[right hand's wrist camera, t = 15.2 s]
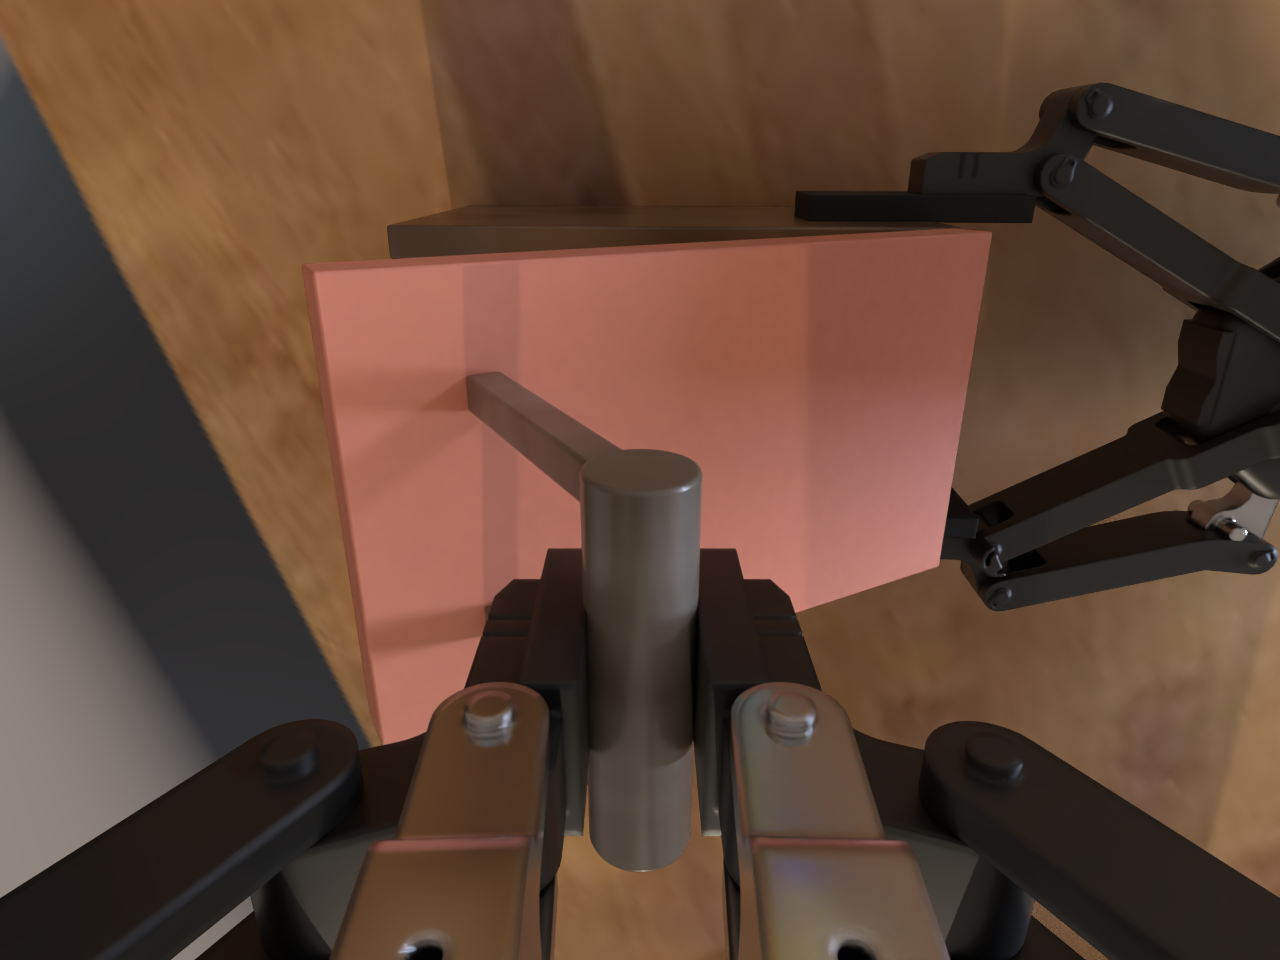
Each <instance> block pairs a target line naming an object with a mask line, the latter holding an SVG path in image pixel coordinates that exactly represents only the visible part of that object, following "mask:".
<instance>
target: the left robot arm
mask: <svg viewBox="0 0 1280 960" xmlns="http://www.w3.org/2000/svg"><path fill="white" fill-rule="evenodd" d="M1039 118H1040V121H1039V123H1038V125H1037V127H1036V129H1035V131H1034V133H1033V135H1032V136H1031V138H1030V140H1029V141H1028V142H1027V143H1026V144H1025V145H1024V146H1023V147H1021V148H1019V149H1018V150H1015V151H1013V152H934V153H927V154H924V155H922V156H919V157H917V158H914V159H912V160H911V168H910V177H909V185H908V192H866V191H796V200H795V214H794V215H795V216H798V217H800V218H802V219H805V220H807V221H899V222H944V223H1032V219H1033V213H1034V208H1035V205H1036V206H1038V207H1039V208H1041V209H1042V210H1044V211H1045V212H1047V213H1049V214H1050V215H1052V216H1053V217H1055V218H1056V219H1058V220H1060V221H1061V222H1063V223H1064V224H1066V225H1067V226H1069V227H1071V228H1072V229H1074V230H1075V231H1077V232H1078V233H1080V234H1081V235H1083V236H1085V237H1086V238H1088V239H1089V240H1091V241H1092V242H1094V243H1096V244H1097V245H1099V246H1100V247H1102V248H1103V249H1105V250H1107V251H1108V252H1110V253H1111V254H1113V255H1114V256H1116V257H1118V258H1119V259H1121V260H1122V261H1124V262H1125V263H1127V264H1129V265H1130V266H1132V267H1133V268H1135V269H1136V270H1138V271H1140V272H1141V273H1143V274H1144V275H1146V276H1147V277H1149V278H1151V279H1152V280H1154V281H1155V282H1157V283H1158V284H1160V285H1161V286H1162V287H1163V289H1164V290H1165V291H1166V292H1167V293H1169V294H1170V295H1172V296H1174V297H1175V298H1177V299H1178V300H1180V301H1181V302H1183V303H1185V304H1186V305H1188V306H1189V307H1191V308H1192V309H1194V310H1196V311H1197V313H1196V314H1195V315H1194V317H1193V319H1192V320H1184V321H1183V325H1182V329H1181V333H1180V336H1179V340H1178V367H1177V369H1176V371H1175V372H1174V374H1173V376H1172V378H1171V380H1170V382H1169V384H1168V385H1167V387H1166V391H1165V395H1164V399H1163V402H1162V406H1161V409H1162V410H1164V411H1162V412H1160V413H1158V414H1156V415H1153V416H1151V417H1149V418H1147V419H1144V420H1142V421H1140V422H1138V423H1136V424H1134V425H1132V426H1131V427H1130V428H1129V429H1128V432H1127V434H1126V435H1125V436H1124V437H1122V438H1119V439H1117V440H1115V441H1113V442H1110V443H1108V444H1106V445H1104V446H1101V447H1099V448H1097V449H1095V450H1092V451H1090V452H1088V453H1086V454H1083V455H1081V456H1079V457H1077V458H1074V459H1072V460H1070V461H1068V462H1065V463H1063V464H1061V465H1059V466H1056V467H1054V468H1052V469H1050V470H1047V471H1045V472H1043V473H1041V474H1038V475H1036V476H1034V477H1032V478H1029V479H1027V480H1025V481H1023V482H1020V483H1018V484H1016V485H1014V486H1011V487H1009V488H1007V489H1005V490H1002V491H1000V492H998V493H995V494H993V495H991V496H989V497H986V498H984V499H982V500H980V501H977V502H975V503H973V504H971V505H967V504H966V503H965V502H964V501H963V500H962V499H961V497H960V496H959V495H958V494H957V493H956V492H955V491H954V489H953V488H951V492H950V498H949V504H948V511H947V517H946V523H945V529H944V536H943V542H942V548H941V554H940V559H955V560H961V566H960V568H961V571H962V573H963V575H964V576H965V577H966V579H967V580H968V581H969V583H970V584H971V586H972V587H973V588H974V590H975V591H976V593H977V594H978V595H979V597H980V598H981V599H982V601H983V602H984V604H985V605H986V606H987V607H988V608H989V609H991V610H994V611H1005V610H1010V609H1015V608H1020V607H1024V606H1029V605H1034V604H1039V603H1044V602H1049V601H1054V600H1059V599H1064V598H1069V597H1074V596H1079V595H1084V594H1089V593H1094V592H1099V591H1104V590H1109V589H1113V588H1118V587H1123V586H1128V585H1133V584H1138V583H1143V582H1148V581H1153V580H1158V579H1163V578H1168V577H1173V576H1178V575H1183V574H1188V573H1193V572H1198V571H1202V570H1211V571H1221V572H1232V573H1242V574H1261V573H1264V572H1266V571H1268V570H1269V569H1270V568H1272V567H1273V565H1274V564H1275V563H1276V561H1277V557H1278V553H1277V549H1276V548H1275V547H1273V546H1272V545H1271V544H1269V543H1268V542H1266V541H1265V540H1263V536H1264V534H1265V531H1266V529H1267V527H1268V524H1269V522H1270V520H1271V517H1272V515H1273V513H1274V510H1275V508H1276V506H1277V503H1278V501H1279V499H1280V257H1279V258H1277V259H1275V260H1274V261H1272V262H1270V263H1269V264H1267V265H1265V266H1264V267H1262V268H1260V269H1259V270H1256V269H1254V268H1251V267H1248V266H1246V265H1243V264H1241V263H1239V262H1237V261H1235V260H1234V259H1232V258H1231V257H1229V256H1228V255H1226V254H1225V253H1223V252H1222V251H1220V250H1219V249H1217V248H1216V247H1214V246H1213V245H1211V244H1209V243H1208V242H1206V241H1205V240H1203V239H1202V238H1200V237H1199V236H1197V235H1196V234H1194V233H1193V232H1191V231H1190V230H1188V229H1187V228H1185V227H1184V226H1182V225H1181V224H1179V223H1177V222H1176V221H1174V220H1173V219H1171V218H1170V217H1168V216H1167V215H1165V214H1164V213H1162V212H1161V211H1159V210H1158V209H1156V208H1155V207H1153V206H1152V205H1150V204H1149V203H1147V202H1145V201H1144V200H1142V199H1141V198H1139V197H1138V196H1136V195H1135V194H1133V193H1132V192H1130V191H1129V190H1127V189H1126V188H1124V187H1123V186H1121V185H1120V184H1118V183H1117V182H1115V181H1113V180H1112V179H1110V178H1109V177H1107V176H1106V175H1104V174H1103V173H1101V172H1100V171H1098V170H1097V169H1095V168H1094V167H1092V166H1091V165H1089V164H1088V163H1086V162H1085V161H1084V159H1085V158H1086V156H1087V154H1088V152H1089V150H1090V148H1091V146H1092V145H1095V146H1099V147H1102V148H1105V149H1108V150H1112V151H1115V152H1118V153H1122V154H1125V155H1128V156H1132V157H1135V158H1138V159H1141V160H1145V161H1148V162H1151V163H1155V164H1158V165H1161V166H1164V167H1168V168H1171V169H1174V170H1178V171H1181V172H1184V173H1188V174H1191V175H1194V176H1197V177H1201V178H1204V179H1207V180H1211V181H1214V182H1217V183H1220V184H1224V185H1227V186H1230V187H1234V188H1237V189H1241V190H1246V191H1250V192H1259V193H1272V194H1279V195H1278V197H1277V205H1278V207H1279V208H1280V136H1277V135H1274V134H1271V133H1268V132H1264V131H1261V130H1258V129H1255V128H1251V127H1248V126H1245V125H1242V124H1239V123H1235V122H1232V121H1229V120H1226V119H1222V118H1219V117H1216V116H1213V115H1210V114H1206V113H1203V112H1200V111H1197V110H1193V109H1190V108H1187V107H1184V106H1181V105H1177V104H1174V103H1171V102H1168V101H1164V100H1161V99H1158V98H1155V97H1152V96H1148V95H1145V94H1142V93H1139V92H1135V91H1132V90H1129V89H1126V88H1123V87H1119V86H1116V85H1113V84H1110V83H1096V84H1090V85H1084V86H1078V87H1073V88H1067V89H1061V90H1058V91H1055V92H1052V93H1051V94H1050V95H1049V96H1047V97H1046V98H1045V100H1044V101H1043V103H1042V105H1041V107H1040V111H1039ZM1185 442H1186V443H1187V444H1186V443H1185ZM1226 477H1228V478H1229V479H1230V480H1231V481H1233V482H1234V483H1235V484H1234V486H1233V488H1232V490H1231V491H1230V492H1229V493H1228V494H1227V495H1225V496H1224V497H1222V498H1219V499H1215V500H1209V501H1205V502H1203V501H1201V500H1195V501H1193V502H1192V503H1190V505H1189V506H1188V511H1164V512H1157V513H1151V514H1146V515H1141V516H1137V517H1132V518H1127V519H1123V520H1118V521H1113V522H1108V523H1104V524H1099V525H1094V526H1090V525H1092V524H1094V523H1097V522H1099V521H1102V520H1104V519H1106V518H1109V517H1111V516H1113V515H1116V514H1118V513H1120V512H1123V511H1125V510H1127V509H1130V508H1132V507H1134V506H1137V505H1139V504H1142V503H1144V502H1146V501H1149V500H1151V499H1153V498H1156V497H1158V496H1160V495H1163V494H1165V493H1167V492H1170V491H1172V490H1176V489H1187V490H1192V489H1198V488H1202V487H1205V486H1207V485H1209V484H1212V483H1214V482H1216V481H1219V480H1221V479H1224V478H1226ZM1087 526H1090V527H1087Z"/></svg>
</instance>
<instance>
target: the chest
mask: <svg viewBox="0 0 1280 960" xmlns="http://www.w3.org/2000/svg"><path fill="white" fill-rule="evenodd" d="M794 214H795V207H733V206H466V207H462V208H458V209H454V210H450V211H446V212H441V213H437V214H433V215H429V216H425V217H421V218H417V219H413V220H408V221H404V222H400V223H396V224H392V225H389V226H387V232H388V241H389V250H390V256H391V258H392V259H399V258H417V257H436V256H454V255H472V254H491V253H509V252H528V251H546V250H565V249H583V248H602V247H620V246H639V245H657V244H675V243H694V242H712V241H731V240H749V239H768V238H786V237H805V236H823V235H842V234H860V233H878V232H897V231H915V230H934V229H952V228H954V229H962V228H959V227H955V226H951V225H946V224H942V223H938V222H899V221H807V220H805V219H802V218H800V217H798V216H795V215H794Z"/></svg>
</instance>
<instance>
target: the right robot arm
mask: <svg viewBox="0 0 1280 960" xmlns="http://www.w3.org/2000/svg"><path fill="white" fill-rule="evenodd" d="M693 741H694V752H695V763H696V774H697V785H698V796H699V807H700V818H701V829H702V836H721V838H722V846H723V855H724V860H723V879H722V898H723V915H724V931H725V948H726V960H1085V959H1084V958H1083V957H1081V956H1080V955H1079V954H1078V953H1076V952H1075V951H1074V950H1073V949H1072V948H1070V947H1069V946H1068V945H1067V944H1066V943H1064V942H1063V941H1062V940H1061V939H1060V938H1058V937H1057V936H1056V935H1055V934H1054V933H1052V932H1051V931H1050V930H1049V929H1048V928H1046V927H1045V926H1044V925H1043V924H1041V923H1040V922H1039V921H1038V920H1037V919H1035V918H1034V917H1033V916H1032V915H1031V913H1032V910H1033V906H1034V902H1035V900H1036V901H1037V902H1038V903H1040V904H1041V905H1042V906H1043V907H1045V908H1046V909H1047V910H1048V911H1050V912H1051V913H1052V914H1053V915H1055V916H1056V917H1057V918H1058V919H1060V920H1061V921H1062V922H1063V923H1064V924H1066V925H1067V926H1068V927H1069V928H1071V929H1072V930H1073V931H1074V932H1076V933H1077V934H1078V935H1079V936H1081V937H1082V938H1083V939H1084V940H1086V941H1087V942H1088V943H1089V944H1090V945H1092V946H1093V947H1094V948H1095V949H1097V950H1098V951H1099V952H1100V953H1102V954H1103V955H1104V956H1105V957H1107V958H1108V959H1109V960H1280V898H1279V897H1277V896H1276V895H1274V894H1272V893H1271V892H1269V891H1268V890H1266V889H1265V888H1263V887H1261V886H1260V885H1258V884H1257V883H1255V882H1254V881H1252V880H1250V879H1249V878H1247V877H1246V876H1244V875H1242V874H1241V873H1239V872H1238V871H1236V870H1235V869H1233V868H1231V867H1230V866H1228V865H1227V864H1225V863H1224V862H1222V861H1220V860H1219V859H1217V858H1216V857H1214V856H1213V855H1211V854H1209V853H1208V852H1206V851H1205V850H1203V849H1202V848H1200V847H1198V846H1197V845H1195V844H1194V843H1192V842H1191V841H1189V840H1187V839H1186V838H1184V837H1183V836H1181V835H1180V834H1178V833H1176V832H1175V831H1173V830H1172V829H1170V828H1169V827H1167V826H1165V825H1164V824H1162V823H1161V822H1159V821H1158V820H1156V819H1154V818H1153V817H1151V816H1150V815H1148V814H1147V813H1145V812H1143V811H1142V810H1140V809H1139V808H1137V807H1135V806H1134V805H1132V804H1131V803H1129V802H1128V801H1126V800H1124V799H1123V798H1121V797H1120V796H1118V795H1117V794H1115V793H1113V792H1112V791H1110V790H1109V789H1107V788H1106V787H1104V786H1102V785H1101V784H1099V783H1098V782H1096V781H1095V780H1093V779H1091V778H1090V777H1088V776H1087V775H1085V774H1084V773H1082V772H1080V771H1079V770H1077V769H1076V768H1074V767H1073V766H1071V765H1069V764H1068V763H1066V762H1065V761H1063V760H1062V759H1060V758H1058V757H1057V756H1055V755H1054V754H1052V753H1051V752H1049V751H1047V750H1046V749H1044V748H1043V747H1041V746H1040V745H1038V744H1036V743H1035V742H1033V741H1032V740H1030V739H1028V738H1026V737H1025V736H1023V735H1021V734H1019V733H1017V732H1014V731H1012V730H1010V729H1007V728H1004V727H1001V726H998V725H994V724H990V723H984V722H976V721H961V722H953V723H949V724H946V725H943V726H940V727H939V728H937V729H936V730H934V731H933V732H932V733H931V734H930V735H929V737H928V739H927V741H926V744H925V750H921V749H917V748H912V747H908V746H903V745H899V744H894V743H890V742H886V741H882V740H879V739H876V738H873V737H870V736H868V735H865V734H863V733H861V732H859V731H857V730H855V729H853V728H852V725H851V722H850V719H849V717H848V714H847V712H846V711H845V710H844V708H843V707H842V706H841V705H840V704H839V703H838V702H837V701H836V700H835V699H833V698H832V697H831V696H829V695H827V694H826V693H824V692H822V690H821V687H820V684H819V681H818V678H817V675H816V672H815V669H814V666H813V663H812V660H811V658H810V655H809V652H808V649H807V646H806V643H805V640H804V637H802V631H801V628H800V625H799V622H798V620H796V614H795V611H794V608H793V605H792V602H791V599H790V596H789V595H788V594H786V593H785V592H784V591H783V590H782V589H781V588H780V587H779V586H777V585H776V584H775V583H774V582H773V581H772V580H771V579H744V578H743V574H742V570H741V566H740V562H739V558H738V554H737V550H736V549H735V548H700V567H699V597H698V614H697V645H696V676H695V707H694V738H693ZM589 755H590V728H589V694H588V659H587V625H586V610H585V608H584V605H583V587H582V552H581V548H548V550H547V554H546V558H545V562H544V567H543V571H542V575H541V579H513V580H512V581H511V582H510V583H509V584H508V585H507V586H505V587H504V588H503V589H502V590H501V591H500V592H499V593H498V594H496V595H495V596H494V599H493V602H492V605H491V609H490V612H489V615H488V620H487V621H486V624H485V627H484V630H483V636H482V637H481V639H480V642H479V645H478V648H477V651H476V654H475V657H474V660H473V663H472V666H471V669H470V672H469V675H468V678H467V681H466V684H465V687H464V689H463V690H460V691H458V692H456V693H454V694H452V695H451V696H449V697H448V698H447V699H445V700H444V701H443V702H442V703H441V704H440V705H439V706H438V707H437V708H436V709H435V711H434V712H433V714H432V716H431V719H430V722H429V725H428V728H427V731H426V732H424V733H422V734H420V735H418V736H415V737H412V738H410V739H406V740H403V741H399V742H395V743H391V744H386V745H382V746H377V747H373V748H368V749H364V750H358V744H357V739H356V737H355V735H354V734H353V733H352V731H351V730H350V729H348V728H347V727H345V726H344V725H342V724H339V723H337V722H333V721H328V720H320V719H310V720H300V721H294V722H290V723H286V724H282V725H279V726H277V727H274V728H271V729H269V730H267V731H265V732H262V733H260V734H259V735H257V736H255V737H253V738H252V739H250V740H248V741H247V742H245V743H244V744H242V745H241V746H239V747H237V748H236V749H234V750H233V751H231V752H229V753H228V754H226V755H225V756H223V757H222V758H220V759H218V760H217V761H215V762H214V763H212V764H211V765H209V766H208V767H206V768H204V769H203V770H201V771H200V772H198V773H196V774H195V775H193V776H192V777H190V778H189V779H187V780H185V781H184V782H182V783H181V784H179V785H178V786H176V787H174V788H173V789H171V790H170V791H168V792H167V793H165V794H163V795H162V796H160V797H159V798H157V799H156V800H154V801H152V802H151V803H149V804H148V805H146V806H145V807H143V808H141V809H140V810H138V811H137V812H135V813H134V814H132V815H130V816H129V817H127V818H126V819H124V820H122V821H121V822H119V823H118V824H116V825H115V826H113V827H112V828H110V829H108V830H107V831H105V832H104V833H102V834H100V835H99V836H97V837H96V838H94V839H93V840H91V841H90V842H88V843H86V844H85V845H83V846H82V847H80V848H78V849H77V850H75V851H74V852H72V853H71V854H69V855H67V856H66V857H64V858H63V859H61V860H60V861H58V862H56V863H55V864H53V865H52V866H50V867H49V868H47V869H45V870H44V871H42V872H41V873H39V874H38V875H36V876H34V877H33V878H31V879H30V880H28V881H27V882H25V883H23V884H22V885H20V886H19V887H17V888H16V889H14V890H12V891H11V892H9V893H8V894H6V895H5V896H3V897H1V898H0V960H171V959H172V958H173V957H175V956H176V955H177V954H178V953H180V952H181V951H182V950H183V949H185V948H186V947H187V946H188V945H190V944H191V943H192V942H193V941H195V940H196V939H197V938H198V937H199V936H201V935H202V934H203V933H204V932H206V931H207V930H208V929H209V928H211V927H212V926H213V925H214V924H216V923H217V922H218V921H219V920H220V919H222V918H223V917H224V916H225V915H227V914H228V913H229V912H230V911H232V910H233V909H234V908H235V907H237V906H238V905H239V904H240V903H242V902H243V901H244V900H245V899H247V898H248V897H249V896H251V901H252V904H253V909H254V911H253V912H252V913H251V914H249V915H248V916H247V917H246V918H245V919H243V920H242V921H241V922H240V923H239V924H237V925H236V926H235V927H234V928H233V929H231V930H230V931H229V932H228V933H227V934H225V935H224V936H223V937H222V938H220V939H219V940H218V941H217V942H216V943H214V944H213V945H212V946H211V947H210V948H208V949H207V950H206V951H205V952H204V953H202V954H201V955H200V956H199V957H198V958H196V959H195V960H554V947H555V930H556V913H557V897H558V880H557V871H558V869H559V866H560V862H561V858H562V849H563V840H564V836H583V828H584V816H585V804H586V791H587V779H588V767H589Z"/></svg>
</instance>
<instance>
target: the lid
mask: <svg viewBox="0 0 1280 960" xmlns="http://www.w3.org/2000/svg"><path fill="white" fill-rule="evenodd" d="M991 238H992V233H991V232H987V231H976V230H965V229H954V228H952V229H934V230H915V231H897V232H878V233H860V234H842V235H823V236H805V237H786V238H768V239H749V240H731V241H712V242H694V243H675V244H657V245H639V246H620V247H602V248H583V249H565V250H546V251H528V252H509V253H491V254H472V255H454V256H436V257H417V258H399V259H380V260H362V261H343V262H325V263H306V264H303V265H302V273H303V279H304V286H305V292H306V299H307V305H308V312H309V318H310V325H311V331H312V338H313V344H314V351H315V357H316V364H317V370H318V377H319V384H320V390H321V397H322V403H323V410H324V416H325V423H326V429H327V436H328V442H329V449H330V455H331V462H332V468H333V475H334V481H335V488H336V494H337V501H338V507H339V514H340V521H341V527H342V534H343V540H344V547H345V553H346V560H347V566H348V573H349V579H350V586H351V592H352V599H353V605H354V612H355V618H356V625H357V631H358V638H359V644H360V651H361V658H362V664H363V671H364V677H365V684H366V690H367V697H368V703H369V710H370V714H371V717H372V720H373V722H374V725H375V728H376V730H377V733H378V736H379V739H380V741H381V744H382V745H386V744H391V743H395V742H399V741H403V740H406V739H410V738H412V737H415V736H418V735H420V734H422V733H424V732H426V731H427V728H428V725H429V722H430V719H431V716H432V714H433V712H434V711H435V709H436V708H437V707H438V706H439V705H440V704H441V703H442V702H443V701H444V700H445V699H447V698H448V697H449V696H451V695H452V694H454V693H456V692H458V691H460V690H463V689H464V687H465V684H466V681H467V678H468V675H469V672H470V669H471V666H472V663H473V660H474V657H475V654H476V651H477V648H478V645H479V642H480V639H481V637H482V636H483V630H484V627H485V624H486V621H487V620H488V615H489V612H490V609H491V605H492V602H493V599H494V596H495V595H496V594H498V593H499V592H500V591H501V590H502V589H503V588H504V587H505V586H507V585H508V584H509V583H510V582H511V581H512V580H513V579H541V575H542V571H543V567H544V562H545V558H546V554H547V550H548V548H581V552H582V587H583V605H584V608H585V610H586V625H587V659H588V694H589V728H590V755H589V767H588V779H587V784H588V797H589V832H590V839H591V842H592V844H593V846H594V848H595V850H596V851H597V853H598V854H599V855H600V856H601V857H602V858H603V859H604V860H605V861H606V862H608V863H609V864H611V865H613V866H615V867H617V868H619V869H623V870H626V871H631V872H648V871H654V870H658V869H661V868H663V867H666V866H667V865H669V864H671V863H672V862H674V861H675V860H676V859H677V858H678V857H679V856H680V855H681V854H682V853H683V851H684V850H685V848H686V847H687V845H688V842H689V839H690V832H691V802H692V773H693V744H694V741H693V738H694V707H695V676H696V645H697V614H698V597H699V567H700V548H735V549H736V550H737V554H738V558H739V562H740V566H741V570H742V574H743V578H744V579H771V580H772V581H773V582H774V583H775V584H776V585H777V586H779V587H780V588H781V589H782V590H783V591H784V592H785V593H786V594H788V595H789V596H790V599H791V602H792V605H793V608H794V611H795V613H797V612H800V611H803V610H806V609H810V608H813V607H816V606H819V605H822V604H825V603H828V602H831V601H834V600H837V599H840V598H843V597H846V596H849V595H853V594H856V593H859V592H862V591H865V590H868V589H871V588H874V587H877V586H880V585H883V584H886V583H889V582H892V581H896V580H899V579H902V578H905V577H908V576H911V575H914V574H917V573H920V572H923V571H926V570H929V569H932V568H935V567H938V566H939V560H940V554H941V548H942V542H943V536H944V529H945V523H946V517H947V511H948V504H949V498H950V492H951V486H952V480H953V473H954V467H955V461H956V455H957V449H958V442H959V436H960V430H961V424H962V418H963V411H964V405H965V399H966V393H967V387H968V380H969V374H970V368H971V362H972V356H973V349H974V343H975V337H976V331H977V325H978V318H979V312H980V306H981V300H982V294H983V287H984V281H985V275H986V269H987V263H988V256H989V250H990V244H991Z"/></svg>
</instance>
